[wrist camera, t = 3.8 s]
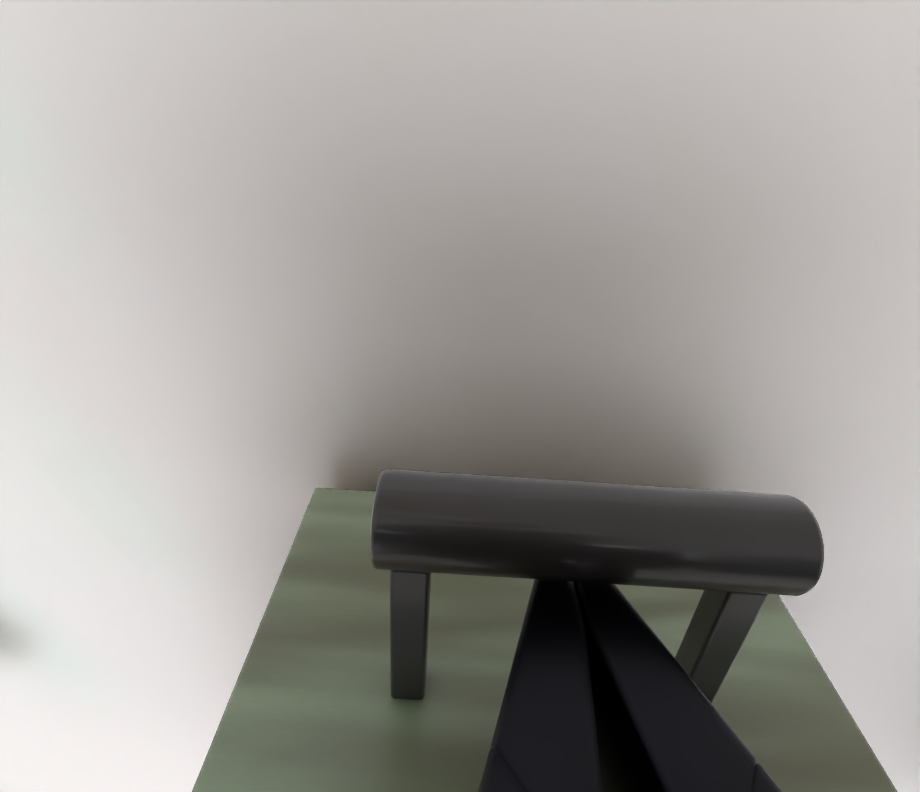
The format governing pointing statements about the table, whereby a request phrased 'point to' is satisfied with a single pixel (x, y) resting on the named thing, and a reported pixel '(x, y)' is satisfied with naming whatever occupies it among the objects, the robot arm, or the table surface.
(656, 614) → the drawer
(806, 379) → the table surface
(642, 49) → the table surface
